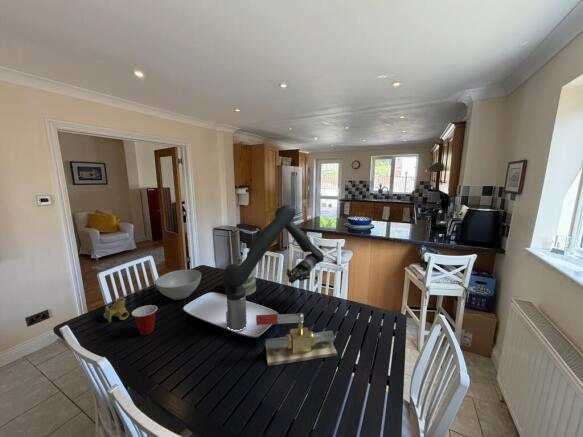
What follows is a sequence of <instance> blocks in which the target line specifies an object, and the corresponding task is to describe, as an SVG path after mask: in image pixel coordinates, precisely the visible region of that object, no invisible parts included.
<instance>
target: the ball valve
mask: <svg viewBox="0 0 583 437" xmlns="http://www.w3.org/2000/svg"><path fill="white" fill-rule="evenodd" d="M125 304H126V298H125V297H118V298H116V299H115V300H114V303H113V304H112V305H111V307H110V309H109V306H108V305H106V306H105V309H104V310H105V313H103V318H105V319H106V320H107V322H108V321H109V322H108V323H111V322H112V317H117V318H118V319H119V320H121V321H122V320H124V321H125V320H126V319H128V317H130V312H129V311H128V310H127V309H126V307H125Z"/></svg>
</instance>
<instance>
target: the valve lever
mask: <svg viewBox="0 0 583 437" xmlns="http://www.w3.org/2000/svg"><path fill="white" fill-rule="evenodd" d="M304 316H305V315H304V313H302V312H299V313H286V314H284V313H281V314H279V313H278V314H277V313H275V314H270V313H269V314H256V316H255V323H256V326H264V325H265V326H266V325H267V326H268V325H278V324H280V325H281V324H298V323H304V321H305V320H304V318H305V317H304Z"/></svg>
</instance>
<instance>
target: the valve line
mask: <svg viewBox="0 0 583 437" xmlns="http://www.w3.org/2000/svg"><path fill="white" fill-rule="evenodd" d="M303 323H304V322H303ZM303 323H297V328H291V329H290V328H289V333H287V334H285V336H280V337H273V338H266V339H265V350H266V349H267V351H268V350H276V349H283V348H287V350H291V349H292V353H293V354H300V353H306V352H311V347H312V346H315V344H319V343H326V342H332V343H333V342H334V341H335V336H334V332H333V330H327V331H319V332H314V331H312V330H311V331H309V328H308V327H304V325H303Z"/></svg>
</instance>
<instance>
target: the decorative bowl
mask: <svg viewBox="0 0 583 437" xmlns="http://www.w3.org/2000/svg"><path fill="white" fill-rule="evenodd" d="M201 279H202V273H201V271H199V270H196V269H180V270H174V271H170V272H168V273H165V274H162V275H160V276H159V277H158V278H157V279H156V280H155V282H154V283H155V287H156V289H157V290H158V291H159V292H160V293H161V294H162V295H164V296H165V297H167V298H170V299H172V300H173V301H174V300H175V301H176V300H177V301H179V300H183V299H186V298H188V297H190V296H191V294H192V293H193V292H194V291H195V290H196V289H197V288H198V286H199V285H200V282H201Z"/></svg>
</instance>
